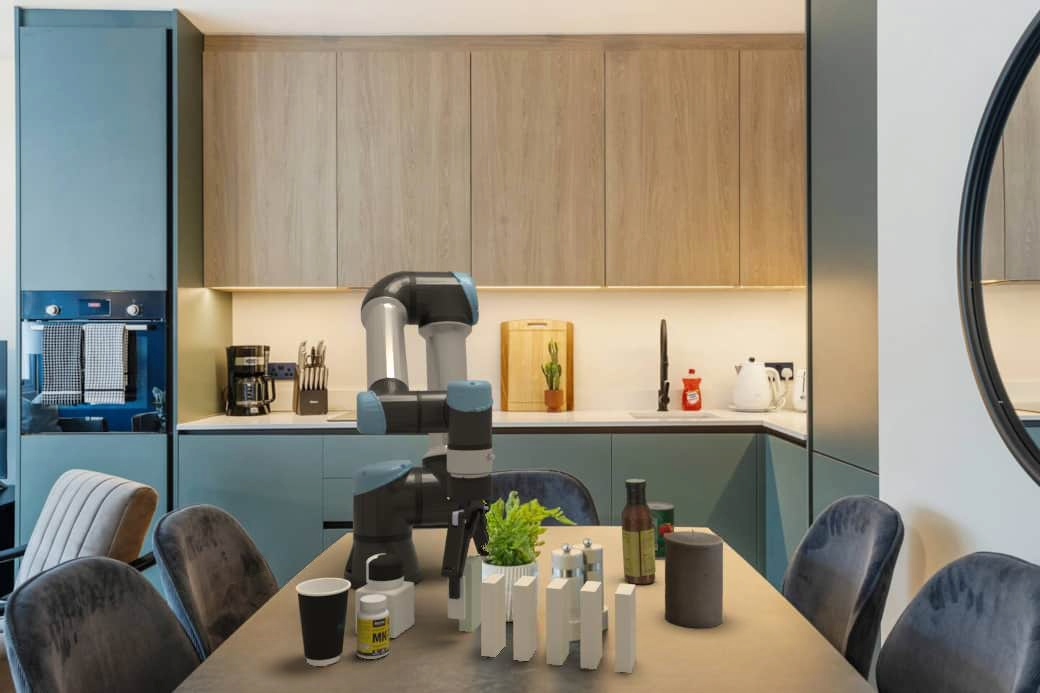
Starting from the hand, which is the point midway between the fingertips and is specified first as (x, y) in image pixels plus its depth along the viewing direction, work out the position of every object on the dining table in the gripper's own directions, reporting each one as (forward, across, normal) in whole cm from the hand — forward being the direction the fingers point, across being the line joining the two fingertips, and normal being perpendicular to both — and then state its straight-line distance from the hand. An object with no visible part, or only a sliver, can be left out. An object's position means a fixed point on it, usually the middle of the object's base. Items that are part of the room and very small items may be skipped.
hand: (470, 605), depth 127 cm
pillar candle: (+4, +14, -35) cm, 38 cm away
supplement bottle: (+4, -15, +10) cm, 18 cm away
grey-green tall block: (+3, 0, 0) cm, 3 cm away
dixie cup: (+4, -19, +16) cm, 25 cm away
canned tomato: (+4, +54, -24) cm, 59 cm away
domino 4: (+4, -9, -22) cm, 24 cm away
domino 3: (+4, -9, -17) cm, 20 cm away
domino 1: (+4, -9, -7) cm, 12 cm away
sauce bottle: (+4, +33, -23) cm, 40 cm away
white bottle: (+4, -5, +13) cm, 14 cm away
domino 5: (+4, -9, -27) cm, 29 cm away
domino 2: (+4, -9, -12) cm, 15 cm away
